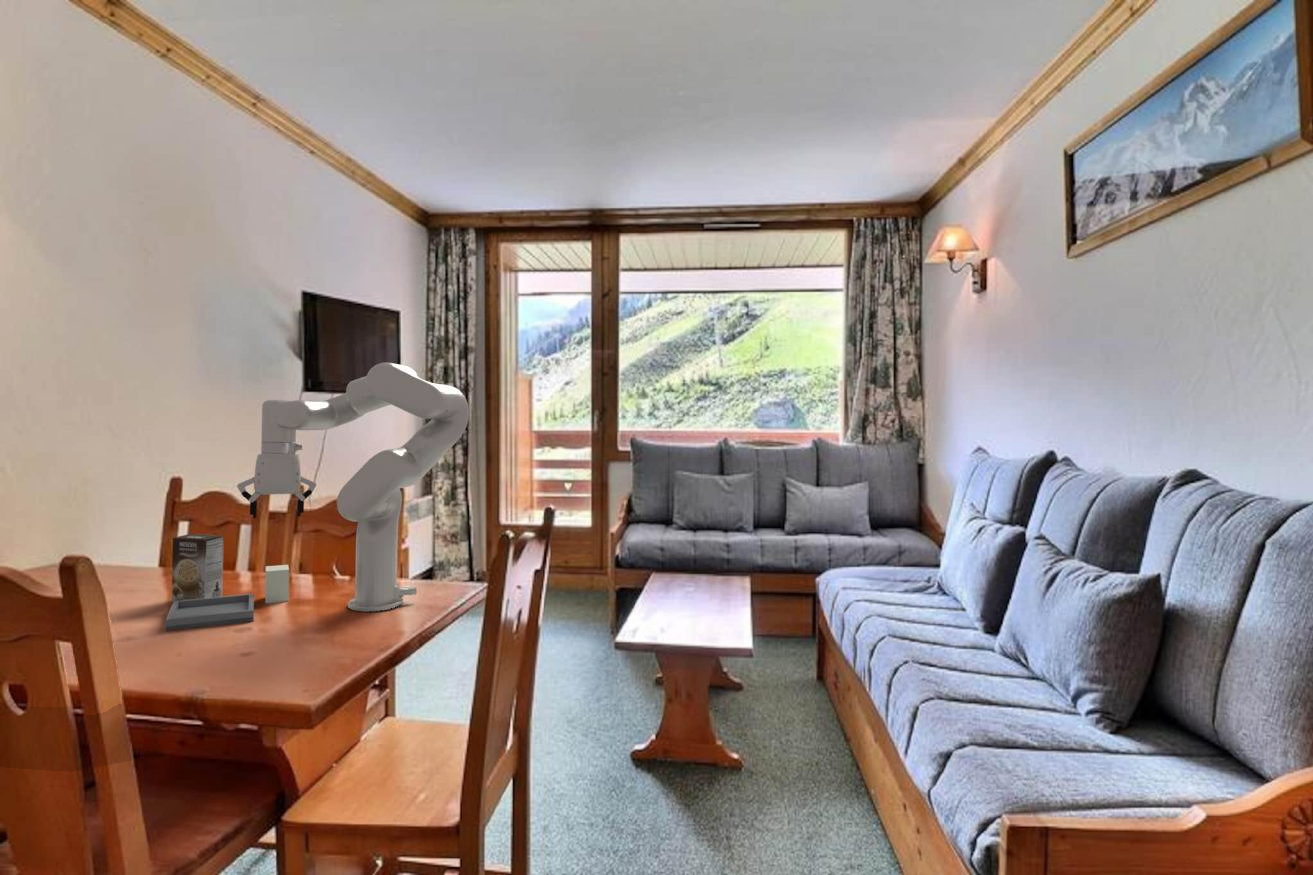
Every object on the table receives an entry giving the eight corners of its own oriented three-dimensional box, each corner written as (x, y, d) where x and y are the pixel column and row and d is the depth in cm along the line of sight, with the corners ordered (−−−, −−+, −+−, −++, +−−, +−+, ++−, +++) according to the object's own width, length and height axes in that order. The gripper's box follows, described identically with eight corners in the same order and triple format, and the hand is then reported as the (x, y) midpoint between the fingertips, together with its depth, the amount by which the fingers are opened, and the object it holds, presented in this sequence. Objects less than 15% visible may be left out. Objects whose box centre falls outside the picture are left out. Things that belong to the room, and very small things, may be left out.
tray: (253, 603, 163) (253, 593, 163) (253, 621, 149) (253, 610, 149) (173, 611, 155) (173, 601, 155) (165, 631, 141) (165, 619, 141)
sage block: (287, 595, 171) (288, 564, 171) (288, 601, 166) (289, 569, 166) (265, 597, 168) (265, 566, 168) (265, 603, 163) (265, 571, 163)
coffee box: (169, 602, 162) (170, 537, 161) (190, 595, 168) (191, 533, 168) (204, 604, 161) (205, 539, 160) (224, 597, 167) (225, 534, 167)
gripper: (316, 448, 174) (314, 513, 174) (238, 447, 165) (236, 516, 165) (318, 450, 167) (316, 517, 168) (237, 449, 158) (236, 520, 159)
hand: (277, 516), depth 167 cm, fingers open, 9 cm apart
